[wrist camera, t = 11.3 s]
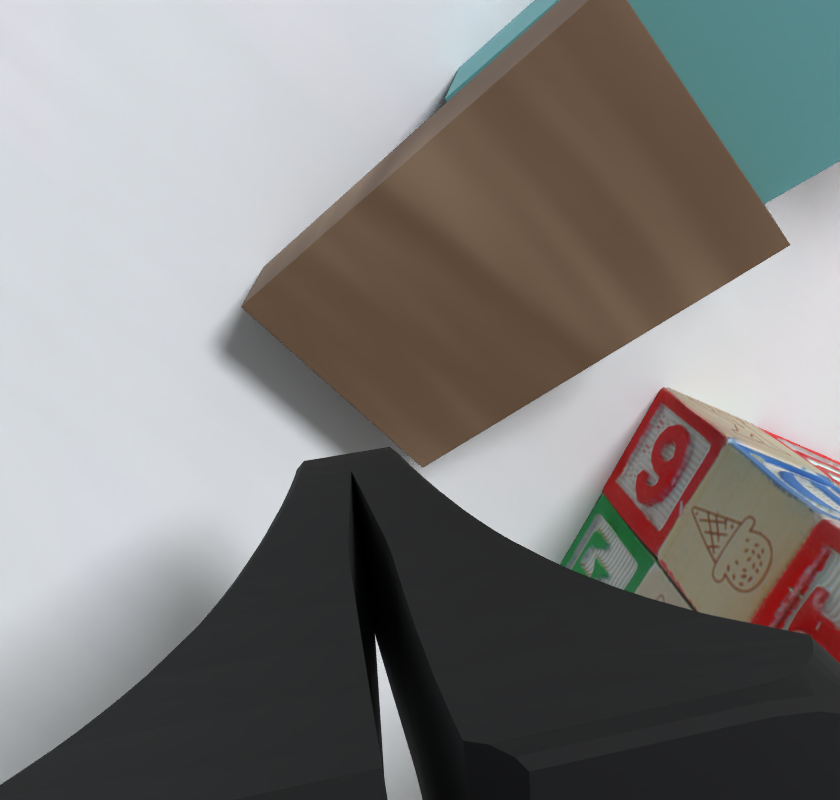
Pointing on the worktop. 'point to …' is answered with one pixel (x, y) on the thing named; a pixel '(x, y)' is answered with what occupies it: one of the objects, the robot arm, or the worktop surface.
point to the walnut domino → (517, 235)
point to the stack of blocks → (720, 522)
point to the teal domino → (739, 77)
